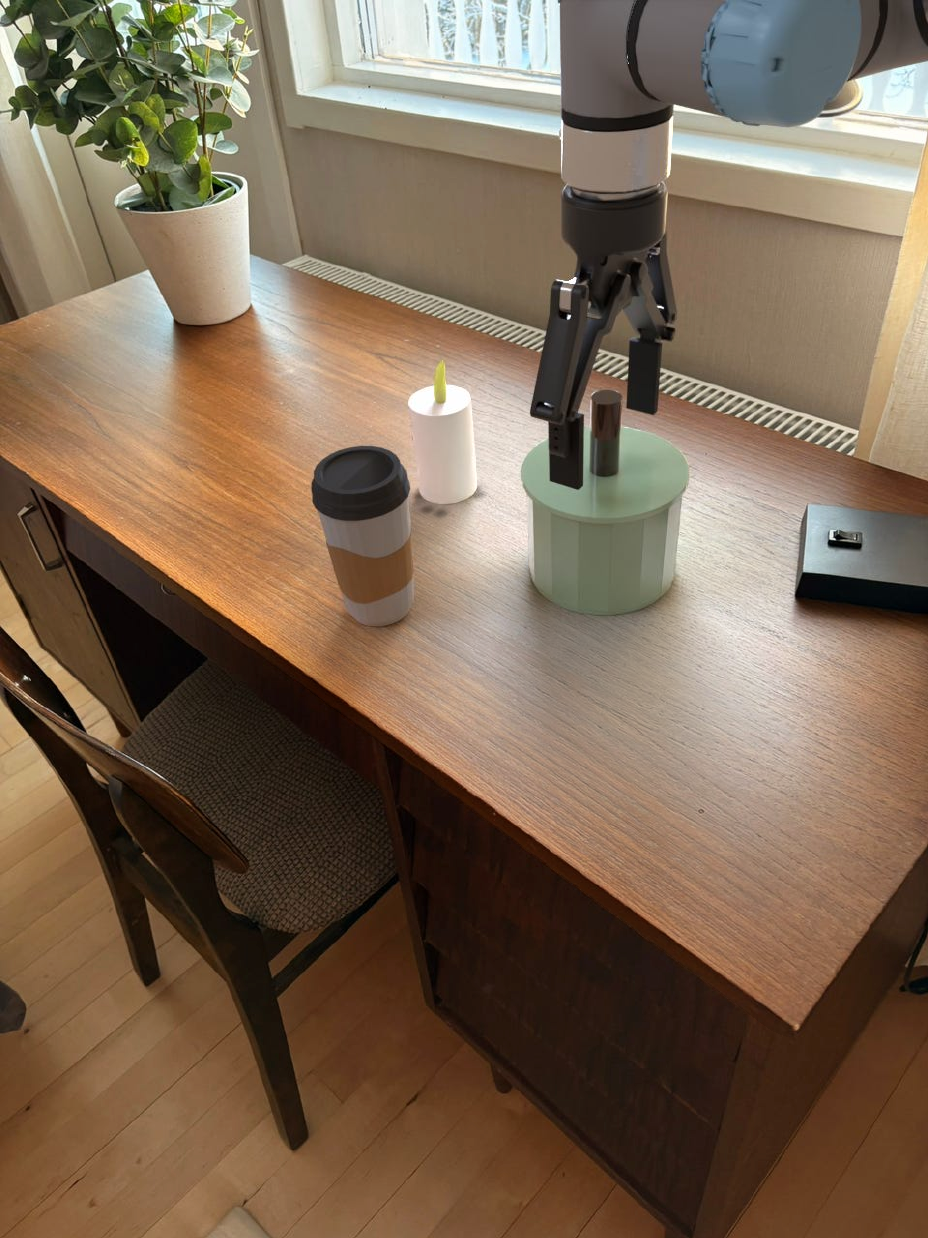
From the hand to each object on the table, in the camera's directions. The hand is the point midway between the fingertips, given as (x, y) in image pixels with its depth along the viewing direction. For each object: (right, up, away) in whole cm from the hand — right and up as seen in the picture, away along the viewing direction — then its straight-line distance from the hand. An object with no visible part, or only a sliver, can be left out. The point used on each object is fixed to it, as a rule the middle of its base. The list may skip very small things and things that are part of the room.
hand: (605, 445), depth 81 cm
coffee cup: (-20, -14, +7) cm, 25 cm away
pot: (+1, -10, +9) cm, 14 cm away
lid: (0, -2, +2) cm, 3 cm away
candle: (-14, -1, +21) cm, 25 cm away
